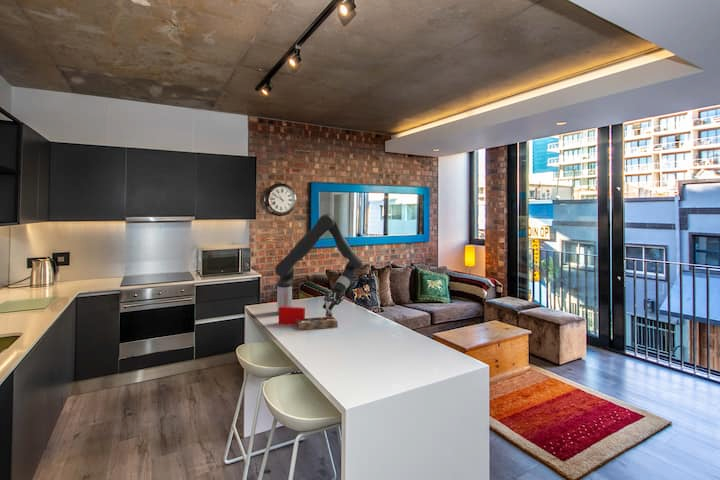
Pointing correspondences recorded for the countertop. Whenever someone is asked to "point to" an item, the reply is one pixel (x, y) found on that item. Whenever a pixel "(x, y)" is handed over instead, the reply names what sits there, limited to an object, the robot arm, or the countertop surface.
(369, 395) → the countertop surface
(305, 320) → the socket bar
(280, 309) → the play button
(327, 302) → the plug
